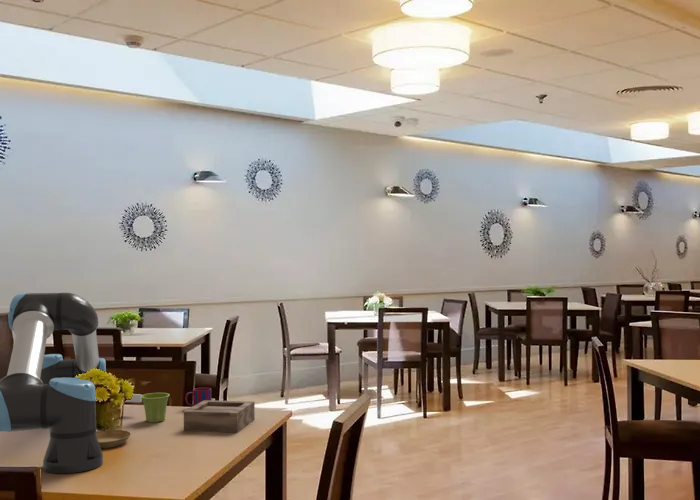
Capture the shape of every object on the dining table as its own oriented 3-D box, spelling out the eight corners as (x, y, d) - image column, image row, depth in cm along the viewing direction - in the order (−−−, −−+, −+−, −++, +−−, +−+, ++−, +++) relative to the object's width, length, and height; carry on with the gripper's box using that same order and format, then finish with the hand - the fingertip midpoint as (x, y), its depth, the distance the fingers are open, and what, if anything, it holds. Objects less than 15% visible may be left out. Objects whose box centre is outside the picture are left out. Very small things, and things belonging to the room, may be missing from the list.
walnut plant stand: (237, 432, 234) (237, 412, 234) (183, 430, 237) (183, 411, 238) (254, 419, 252) (254, 401, 252) (204, 418, 255) (204, 400, 255)
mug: (214, 408, 272) (214, 389, 272) (188, 411, 267) (188, 392, 267) (207, 404, 278) (207, 386, 278) (181, 408, 272) (181, 389, 272)
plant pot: (165, 423, 247) (165, 397, 247) (137, 424, 247) (137, 398, 247) (172, 417, 257) (172, 392, 257) (145, 417, 257) (145, 392, 257)
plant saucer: (116, 451, 214) (116, 442, 214) (69, 449, 216) (69, 440, 216) (139, 438, 228) (139, 430, 228) (95, 437, 231) (95, 428, 231)
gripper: (95, 403, 271) (148, 405, 266) (54, 418, 246) (112, 421, 242) (95, 383, 271) (148, 384, 266) (54, 396, 246) (112, 398, 242)
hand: (131, 402), depth 254 cm, fingers open, 13 cm apart
